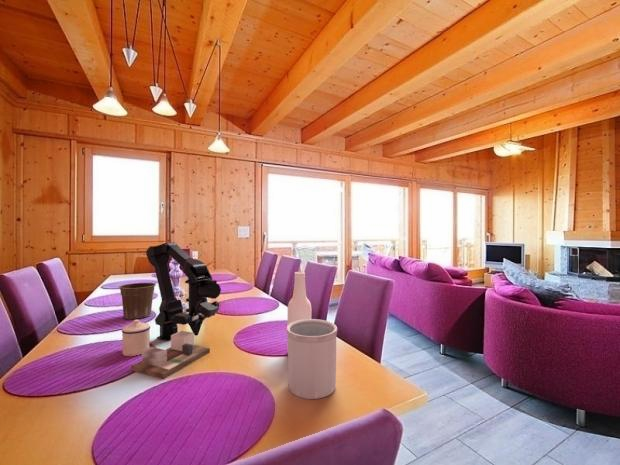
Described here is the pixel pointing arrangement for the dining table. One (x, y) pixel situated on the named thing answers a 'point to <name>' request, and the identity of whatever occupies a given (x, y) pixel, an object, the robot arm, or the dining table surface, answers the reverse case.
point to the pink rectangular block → (182, 340)
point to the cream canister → (135, 338)
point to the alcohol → (299, 301)
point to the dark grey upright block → (187, 349)
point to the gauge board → (169, 357)
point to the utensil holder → (312, 358)
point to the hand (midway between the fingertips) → (196, 335)
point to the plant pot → (137, 299)
